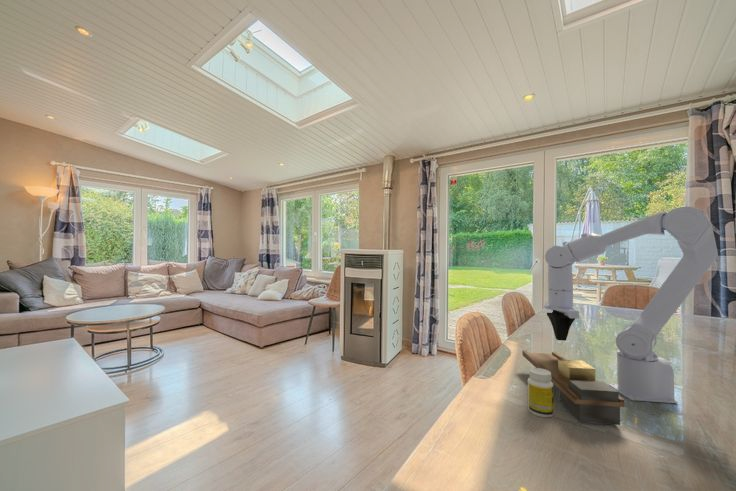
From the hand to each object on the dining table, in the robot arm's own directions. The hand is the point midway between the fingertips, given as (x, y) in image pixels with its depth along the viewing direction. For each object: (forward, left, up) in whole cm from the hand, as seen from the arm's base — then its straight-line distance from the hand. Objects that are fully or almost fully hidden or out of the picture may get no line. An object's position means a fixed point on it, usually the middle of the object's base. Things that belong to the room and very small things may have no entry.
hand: (561, 339), depth 83 cm
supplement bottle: (+14, +22, -10) cm, 28 cm away
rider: (+5, +18, -5) cm, 19 cm away
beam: (+5, +12, -9) cm, 16 cm away
